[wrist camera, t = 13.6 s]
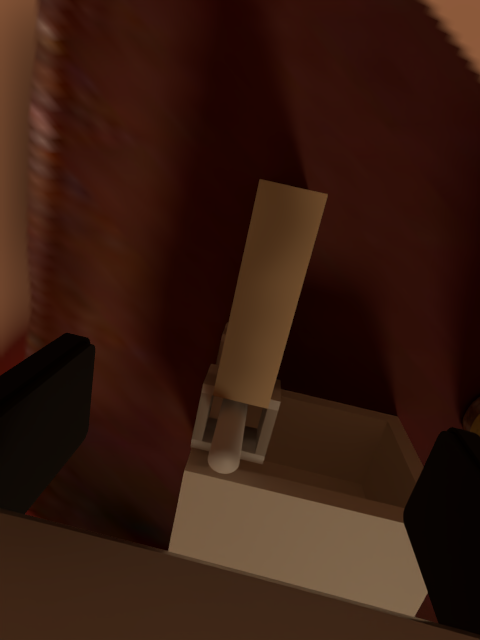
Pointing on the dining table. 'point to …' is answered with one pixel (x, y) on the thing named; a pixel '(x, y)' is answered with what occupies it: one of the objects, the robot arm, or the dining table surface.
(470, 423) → the sauce bottle
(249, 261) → the door
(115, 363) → the dining table surface
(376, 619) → the robot arm
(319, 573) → the white box
